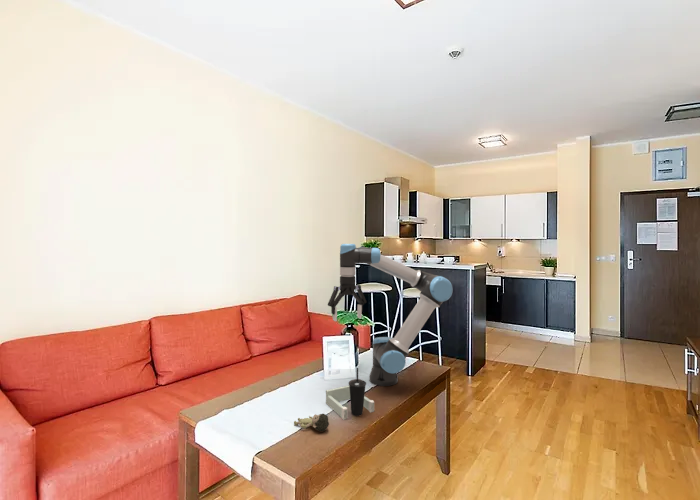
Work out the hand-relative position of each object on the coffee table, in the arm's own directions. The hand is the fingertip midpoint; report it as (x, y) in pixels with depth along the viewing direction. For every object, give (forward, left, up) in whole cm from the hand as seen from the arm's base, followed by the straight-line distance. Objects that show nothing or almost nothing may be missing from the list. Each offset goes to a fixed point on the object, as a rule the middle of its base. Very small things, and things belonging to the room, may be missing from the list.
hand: (347, 319), depth 183 cm
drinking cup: (+6, +20, -37) cm, 42 cm away
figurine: (+28, +21, -37) cm, 51 cm away
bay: (+6, +14, -37) cm, 40 cm away
